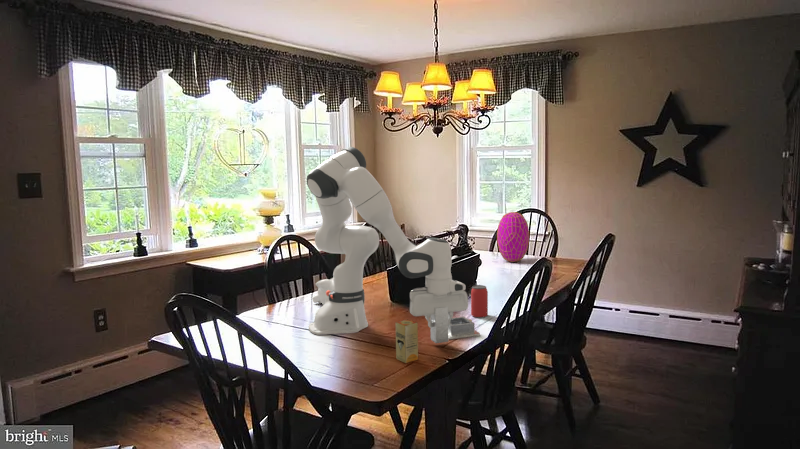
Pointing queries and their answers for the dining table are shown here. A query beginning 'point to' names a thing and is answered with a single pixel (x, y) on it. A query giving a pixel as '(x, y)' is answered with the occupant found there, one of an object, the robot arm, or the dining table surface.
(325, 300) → the fox head
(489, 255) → the dining table surface
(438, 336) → the white rectangular block
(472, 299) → the beer can
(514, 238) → the decorative egg
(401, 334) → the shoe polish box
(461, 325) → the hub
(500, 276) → the dining table surface
